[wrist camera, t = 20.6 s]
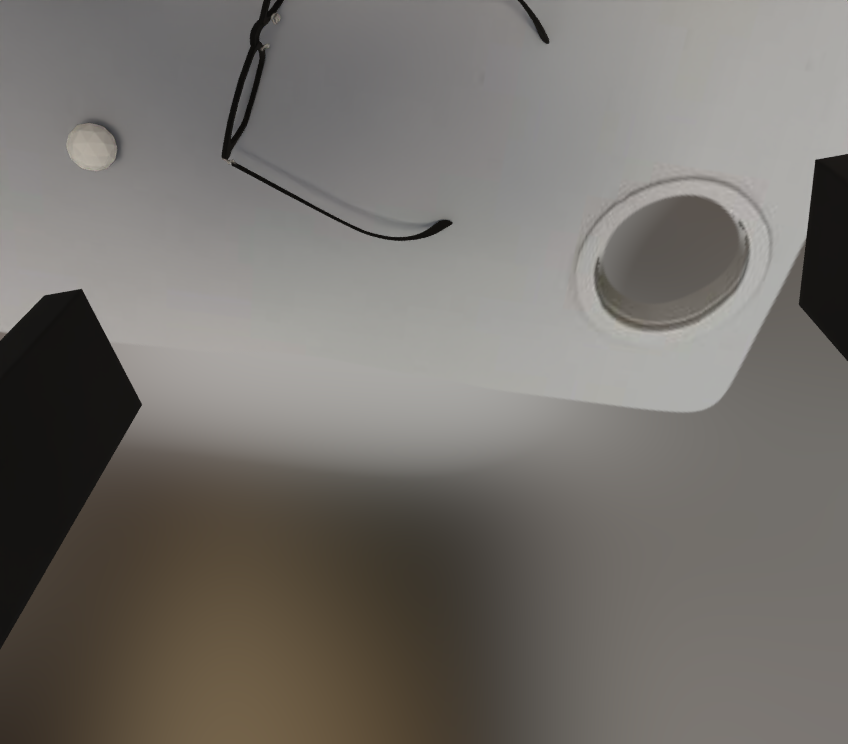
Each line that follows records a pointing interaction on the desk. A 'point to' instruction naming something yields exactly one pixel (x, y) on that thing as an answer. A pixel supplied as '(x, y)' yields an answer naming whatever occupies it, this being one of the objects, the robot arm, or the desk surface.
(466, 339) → the desk surface
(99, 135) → the polyhedron
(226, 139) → the eyeglasses
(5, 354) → the robot arm
